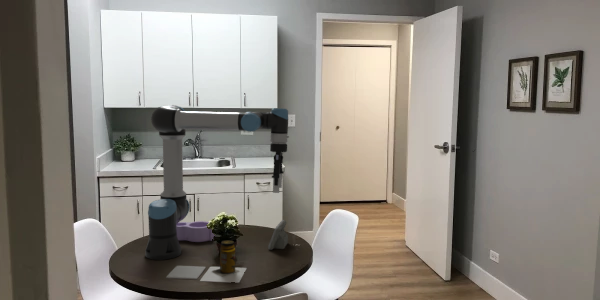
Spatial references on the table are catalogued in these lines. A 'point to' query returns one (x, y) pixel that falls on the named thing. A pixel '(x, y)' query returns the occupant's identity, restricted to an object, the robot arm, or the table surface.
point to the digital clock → (279, 237)
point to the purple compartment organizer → (194, 231)
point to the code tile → (214, 277)
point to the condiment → (226, 259)
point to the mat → (186, 272)
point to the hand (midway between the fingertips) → (277, 190)
